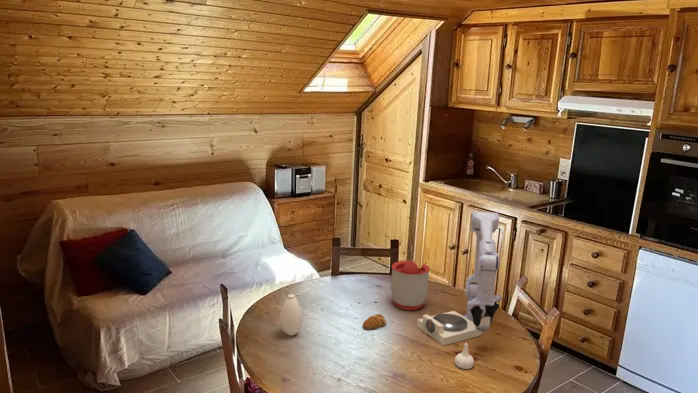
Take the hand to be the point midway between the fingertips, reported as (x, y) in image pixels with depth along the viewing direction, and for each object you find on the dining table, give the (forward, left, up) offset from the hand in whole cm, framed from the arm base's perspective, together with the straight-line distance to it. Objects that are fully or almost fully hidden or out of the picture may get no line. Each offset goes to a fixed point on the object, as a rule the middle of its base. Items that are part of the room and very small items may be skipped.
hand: (482, 323), depth 184 cm
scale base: (+2, -15, -9) cm, 18 cm away
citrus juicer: (+2, -41, -10) cm, 42 cm away
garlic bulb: (+13, +6, -10) cm, 17 cm away
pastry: (+25, -30, -10) cm, 41 cm away
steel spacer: (0, 0, -2) cm, 2 cm away
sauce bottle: (+57, -38, -10) cm, 69 cm away
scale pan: (+2, -15, -6) cm, 16 cm away
